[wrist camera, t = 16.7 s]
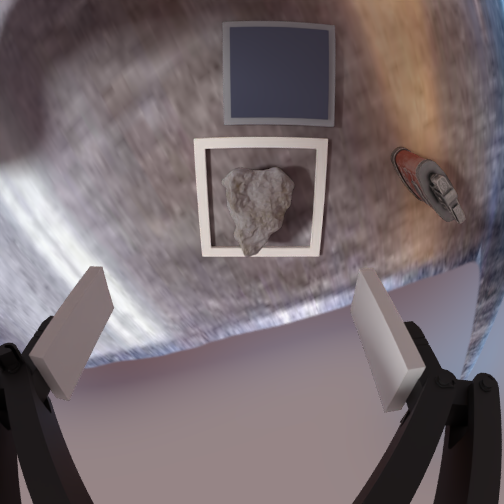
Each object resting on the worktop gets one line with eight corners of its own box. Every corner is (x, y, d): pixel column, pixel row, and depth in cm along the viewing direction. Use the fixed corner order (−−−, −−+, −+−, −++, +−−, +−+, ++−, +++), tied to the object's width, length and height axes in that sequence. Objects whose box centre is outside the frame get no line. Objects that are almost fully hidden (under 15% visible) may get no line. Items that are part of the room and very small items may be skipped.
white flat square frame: (203, 254, 41) (202, 256, 40) (194, 138, 33) (193, 138, 33) (318, 254, 40) (319, 256, 40) (327, 138, 33) (327, 139, 33)
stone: (286, 240, 40) (291, 263, 35) (222, 237, 40) (217, 260, 34) (293, 163, 35) (300, 176, 30) (223, 160, 35) (217, 172, 30)
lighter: (385, 157, 34) (423, 181, 25) (404, 141, 33) (447, 159, 24) (417, 204, 37) (455, 237, 28) (434, 188, 35) (476, 218, 27)
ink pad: (224, 124, 33) (223, 125, 31) (223, 23, 27) (221, 21, 26) (331, 126, 33) (334, 127, 31) (332, 27, 27) (335, 24, 26)
